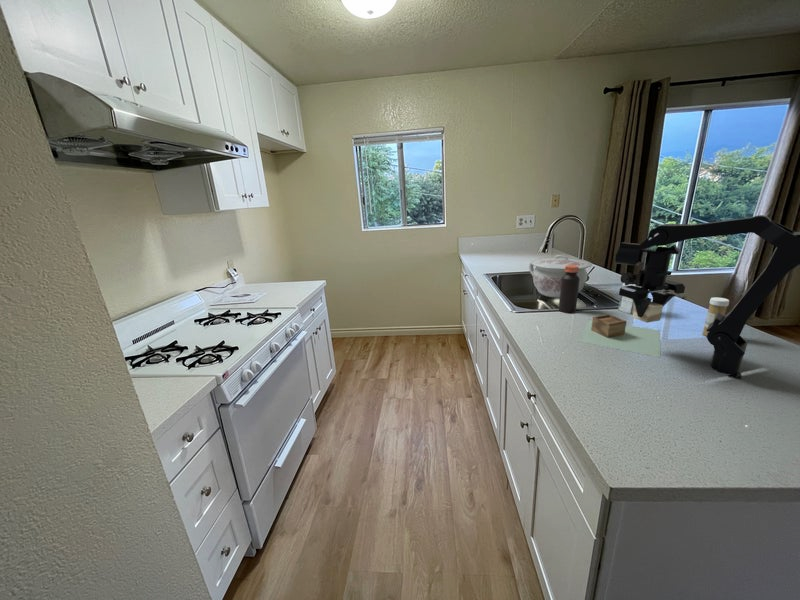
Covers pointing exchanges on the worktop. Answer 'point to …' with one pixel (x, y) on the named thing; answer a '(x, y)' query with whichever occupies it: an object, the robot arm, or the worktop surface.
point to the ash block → (650, 313)
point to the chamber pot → (555, 273)
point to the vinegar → (569, 290)
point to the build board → (627, 340)
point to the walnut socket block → (608, 326)
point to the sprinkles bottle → (715, 311)
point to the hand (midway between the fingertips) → (646, 315)
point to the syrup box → (626, 302)
